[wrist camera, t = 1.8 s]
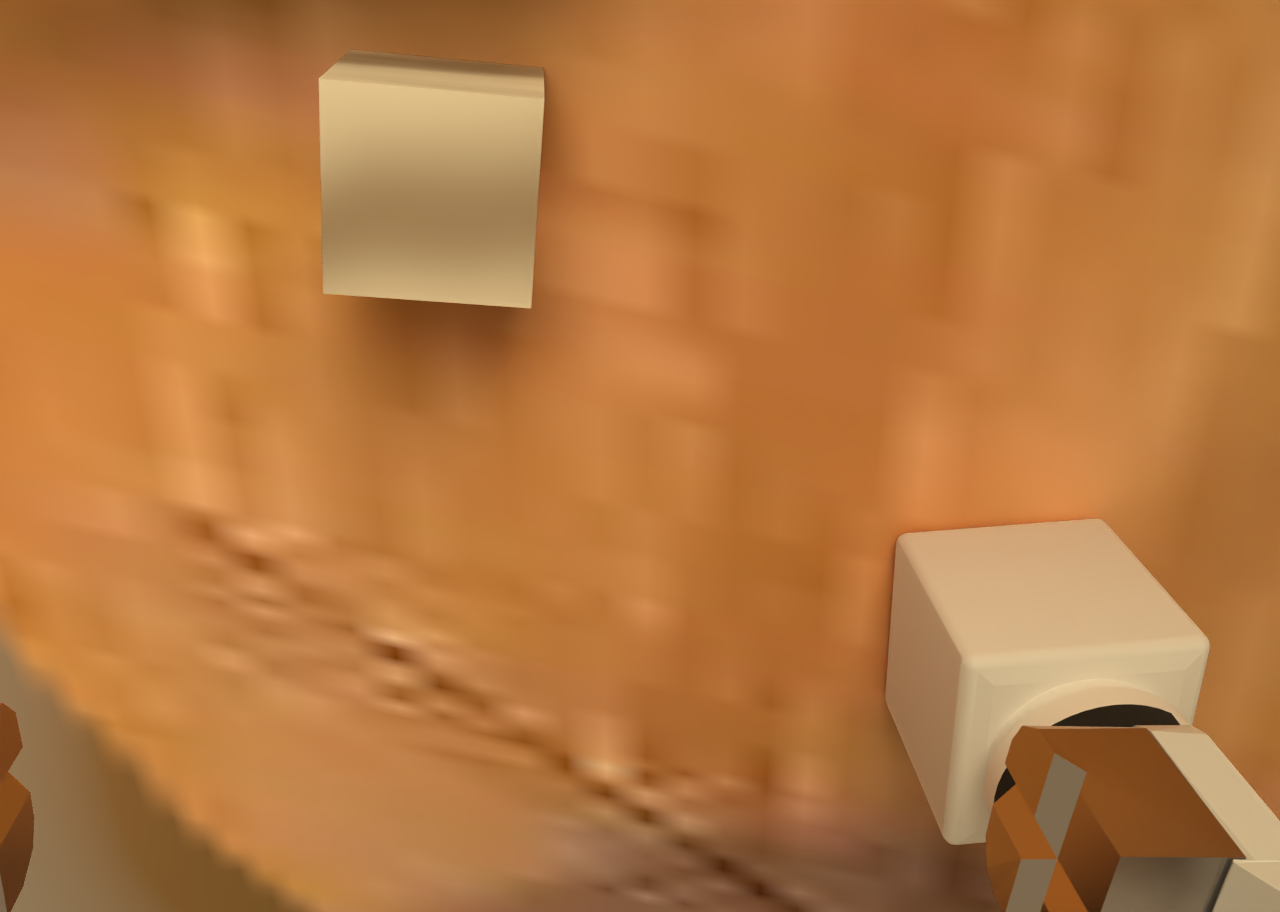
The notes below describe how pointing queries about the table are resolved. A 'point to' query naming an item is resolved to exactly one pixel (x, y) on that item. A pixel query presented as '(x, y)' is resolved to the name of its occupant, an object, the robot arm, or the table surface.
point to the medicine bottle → (1025, 652)
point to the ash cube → (430, 178)
